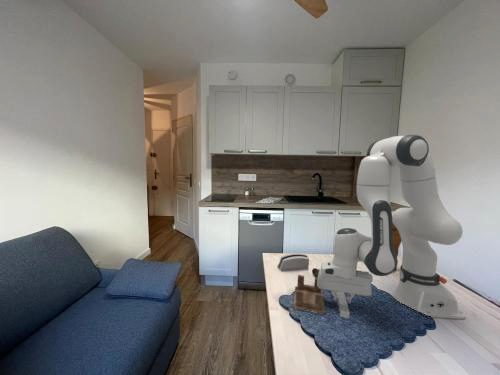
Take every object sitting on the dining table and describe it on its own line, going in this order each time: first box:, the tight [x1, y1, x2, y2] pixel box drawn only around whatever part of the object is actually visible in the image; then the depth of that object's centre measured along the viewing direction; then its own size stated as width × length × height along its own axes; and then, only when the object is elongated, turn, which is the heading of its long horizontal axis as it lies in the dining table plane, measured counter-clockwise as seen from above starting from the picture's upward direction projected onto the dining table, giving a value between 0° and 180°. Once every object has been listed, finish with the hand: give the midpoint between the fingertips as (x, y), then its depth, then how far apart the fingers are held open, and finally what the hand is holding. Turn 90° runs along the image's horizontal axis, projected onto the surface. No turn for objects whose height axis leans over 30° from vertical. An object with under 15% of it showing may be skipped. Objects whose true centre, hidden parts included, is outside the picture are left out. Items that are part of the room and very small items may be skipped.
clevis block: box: [292, 274, 326, 315], centre depth 91 cm, size 12×15×7 cm
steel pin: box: [335, 291, 350, 320], centre depth 89 cm, size 3×16×3 cm, turn 165°
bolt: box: [311, 267, 321, 278], centre depth 107 cm, size 6×5×15 cm
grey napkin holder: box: [277, 252, 310, 271], centre depth 119 cm, size 17×5×10 cm, turn 101°
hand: (342, 301), depth 89 cm, fingers open, 3 cm apart
